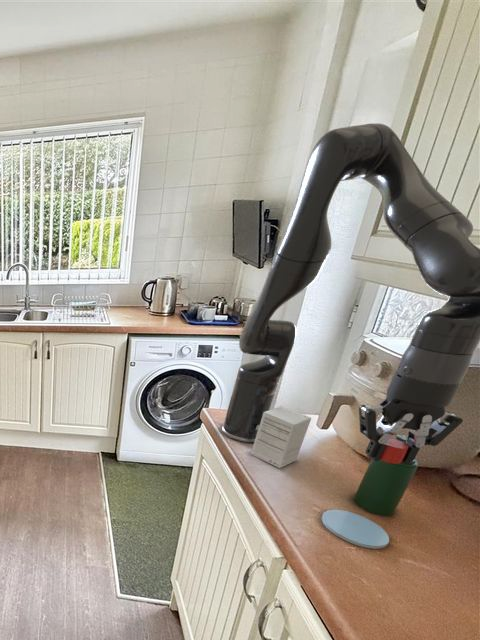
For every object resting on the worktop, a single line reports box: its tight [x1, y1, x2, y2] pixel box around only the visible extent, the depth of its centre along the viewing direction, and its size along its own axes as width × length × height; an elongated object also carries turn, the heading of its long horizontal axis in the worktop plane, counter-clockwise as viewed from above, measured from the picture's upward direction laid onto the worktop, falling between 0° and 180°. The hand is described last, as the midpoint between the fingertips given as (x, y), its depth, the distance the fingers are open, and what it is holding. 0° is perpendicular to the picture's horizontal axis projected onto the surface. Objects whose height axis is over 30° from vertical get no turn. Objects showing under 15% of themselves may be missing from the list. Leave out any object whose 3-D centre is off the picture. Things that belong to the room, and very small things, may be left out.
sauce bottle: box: [353, 434, 419, 517], centre depth 84 cm, size 6×6×17 cm
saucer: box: [321, 509, 390, 550], centre depth 80 cm, size 10×10×1 cm
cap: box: [380, 437, 409, 464], centre depth 73 cm, size 4×4×3 cm
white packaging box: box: [250, 405, 312, 469], centre depth 101 cm, size 7×7×13 cm
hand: (387, 459), depth 74 cm, fingers closed on cap, 4 cm apart
